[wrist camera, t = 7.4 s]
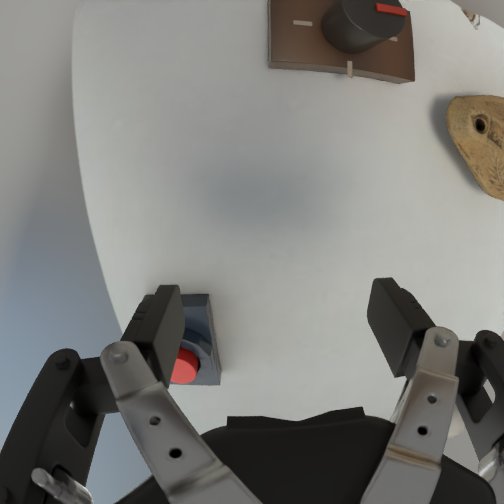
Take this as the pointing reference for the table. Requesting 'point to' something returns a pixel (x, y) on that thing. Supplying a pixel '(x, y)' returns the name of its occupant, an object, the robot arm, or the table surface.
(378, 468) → the robot arm
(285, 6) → the panel
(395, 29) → the knob
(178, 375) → the power button
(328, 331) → the table surface
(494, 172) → the oil lamp
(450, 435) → the lightbulb
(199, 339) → the button box
